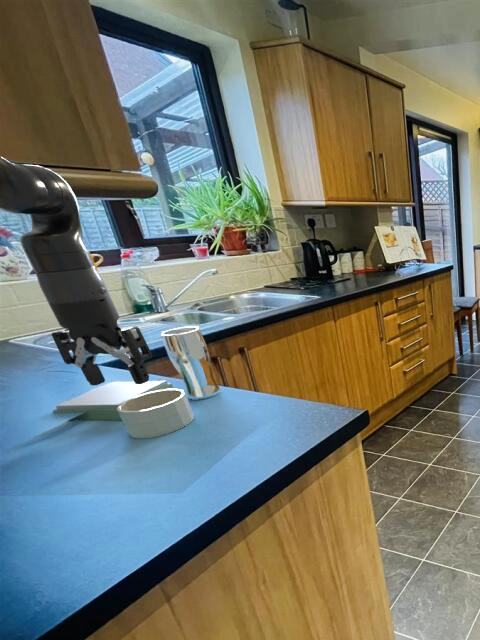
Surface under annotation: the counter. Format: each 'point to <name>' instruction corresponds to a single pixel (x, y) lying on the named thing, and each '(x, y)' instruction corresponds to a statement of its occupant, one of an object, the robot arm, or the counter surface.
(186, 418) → the bowl
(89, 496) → the counter surface
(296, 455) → the counter surface
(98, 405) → the scale
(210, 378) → the beer glass
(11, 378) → the counter surface
